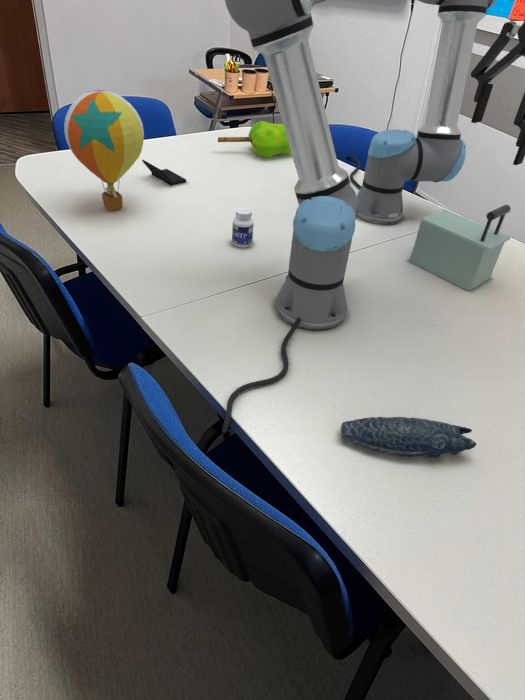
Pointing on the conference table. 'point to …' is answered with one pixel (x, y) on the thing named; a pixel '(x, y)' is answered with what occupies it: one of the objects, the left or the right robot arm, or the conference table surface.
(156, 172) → the black angular piece
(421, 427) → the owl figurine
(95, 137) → the toy
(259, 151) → the decorative tree
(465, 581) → the conference table surface
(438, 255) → the chest
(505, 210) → the lid
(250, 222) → the pill bottle
